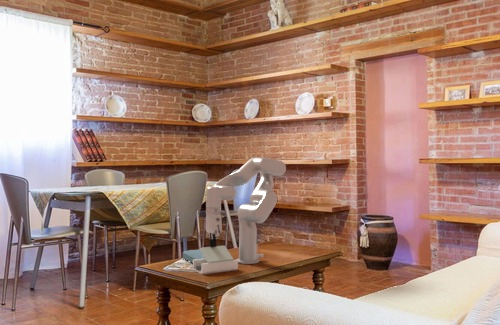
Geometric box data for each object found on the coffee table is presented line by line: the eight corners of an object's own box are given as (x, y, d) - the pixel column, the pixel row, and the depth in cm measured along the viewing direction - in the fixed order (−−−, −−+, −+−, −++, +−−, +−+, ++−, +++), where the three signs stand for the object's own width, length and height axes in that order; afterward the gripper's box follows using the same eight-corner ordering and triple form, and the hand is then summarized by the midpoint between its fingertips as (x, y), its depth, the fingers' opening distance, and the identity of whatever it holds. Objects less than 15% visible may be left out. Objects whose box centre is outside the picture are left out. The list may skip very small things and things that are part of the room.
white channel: (227, 265, 251) (227, 255, 251) (237, 269, 242) (238, 260, 242) (192, 269, 241) (192, 259, 241) (202, 274, 231) (202, 264, 231)
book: (226, 265, 253) (226, 256, 253) (198, 268, 245) (198, 258, 245) (209, 257, 273) (209, 248, 273) (182, 259, 265) (182, 250, 265)
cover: (224, 246, 248) (224, 245, 248) (232, 260, 240) (233, 258, 240) (199, 249, 241) (200, 247, 240) (208, 263, 233) (208, 261, 232)
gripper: (227, 212, 239) (226, 248, 239) (213, 209, 252) (212, 243, 252) (213, 212, 235) (212, 249, 235) (200, 209, 248) (199, 244, 248)
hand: (212, 246), depth 244 cm, fingers closed
